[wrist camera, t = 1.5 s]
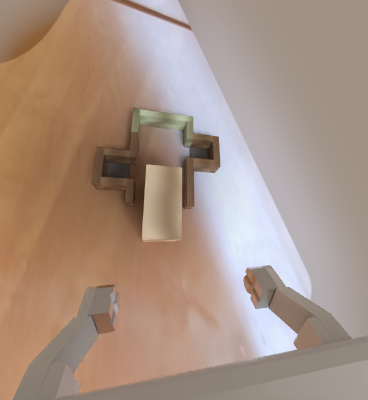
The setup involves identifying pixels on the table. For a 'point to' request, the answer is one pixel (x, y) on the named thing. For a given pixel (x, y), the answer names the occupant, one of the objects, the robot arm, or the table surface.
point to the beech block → (162, 204)
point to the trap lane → (122, 159)
